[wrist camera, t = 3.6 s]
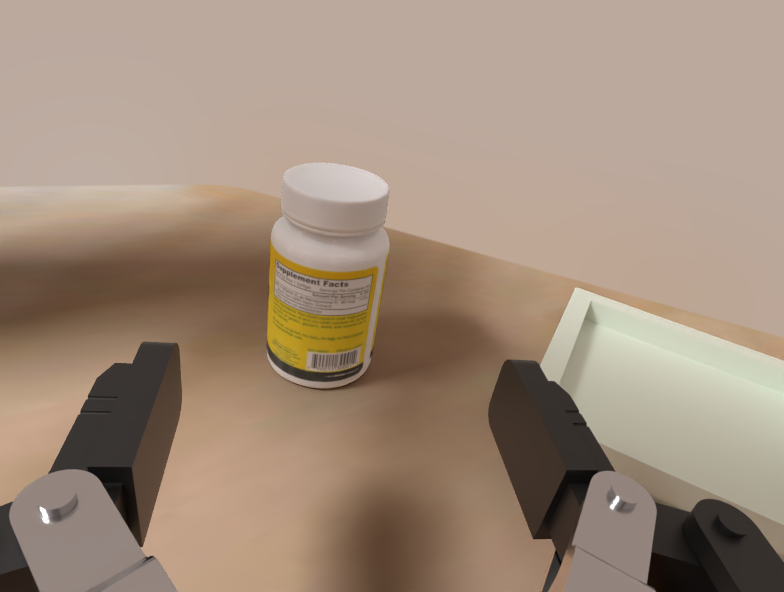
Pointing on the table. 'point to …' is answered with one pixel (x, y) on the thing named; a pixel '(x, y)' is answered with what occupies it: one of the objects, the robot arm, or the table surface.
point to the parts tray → (676, 407)
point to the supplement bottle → (326, 274)
